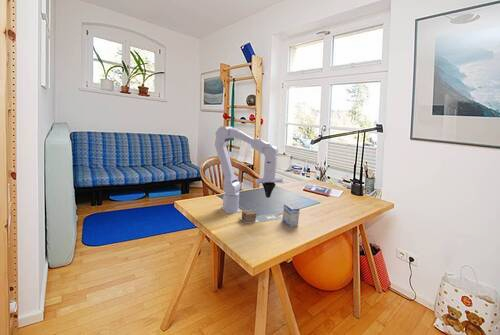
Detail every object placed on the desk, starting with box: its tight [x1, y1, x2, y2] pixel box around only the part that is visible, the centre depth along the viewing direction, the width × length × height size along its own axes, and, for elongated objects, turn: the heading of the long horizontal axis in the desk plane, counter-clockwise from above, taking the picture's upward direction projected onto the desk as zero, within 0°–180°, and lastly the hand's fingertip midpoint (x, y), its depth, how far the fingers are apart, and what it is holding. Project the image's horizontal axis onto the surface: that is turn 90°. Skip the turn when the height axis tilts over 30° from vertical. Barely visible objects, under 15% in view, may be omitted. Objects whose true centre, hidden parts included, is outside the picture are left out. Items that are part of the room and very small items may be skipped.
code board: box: [237, 213, 283, 225], centre depth 135 cm, size 8×21×1 cm, turn 117°
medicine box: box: [281, 203, 300, 228], centre depth 130 cm, size 8×4×9 cm, turn 21°
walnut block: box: [241, 209, 257, 223], centre depth 131 cm, size 5×5×4 cm
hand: (267, 197), depth 136 cm, fingers closed
